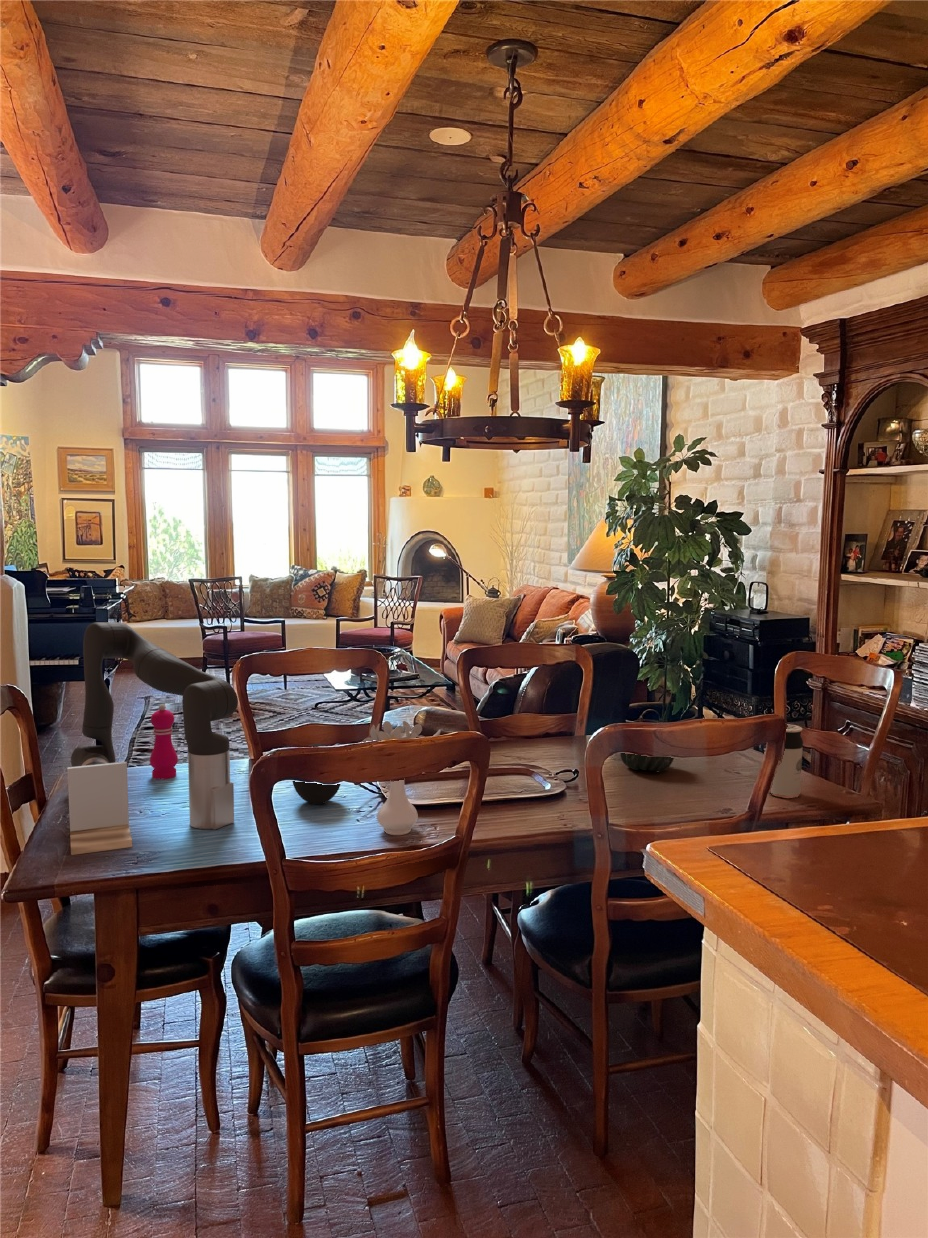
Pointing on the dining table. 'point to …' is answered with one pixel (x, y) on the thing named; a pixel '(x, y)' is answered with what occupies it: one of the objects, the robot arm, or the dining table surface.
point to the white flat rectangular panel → (98, 796)
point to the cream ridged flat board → (100, 839)
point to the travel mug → (790, 764)
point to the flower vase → (396, 784)
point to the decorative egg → (315, 790)
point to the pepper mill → (163, 745)
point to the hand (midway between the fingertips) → (98, 797)
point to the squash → (646, 761)
